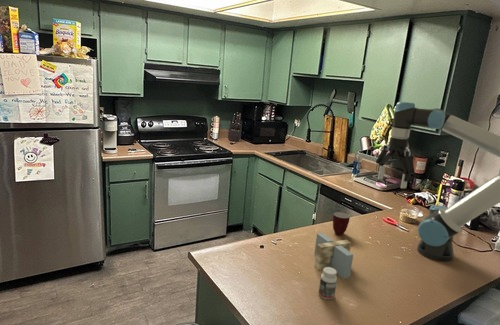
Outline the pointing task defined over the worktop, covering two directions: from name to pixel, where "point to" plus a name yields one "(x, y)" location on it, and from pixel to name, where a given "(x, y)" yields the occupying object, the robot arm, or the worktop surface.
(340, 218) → the mug
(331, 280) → the pill bottle
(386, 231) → the worktop surface
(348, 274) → the slate notched block
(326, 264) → the beige flat block
